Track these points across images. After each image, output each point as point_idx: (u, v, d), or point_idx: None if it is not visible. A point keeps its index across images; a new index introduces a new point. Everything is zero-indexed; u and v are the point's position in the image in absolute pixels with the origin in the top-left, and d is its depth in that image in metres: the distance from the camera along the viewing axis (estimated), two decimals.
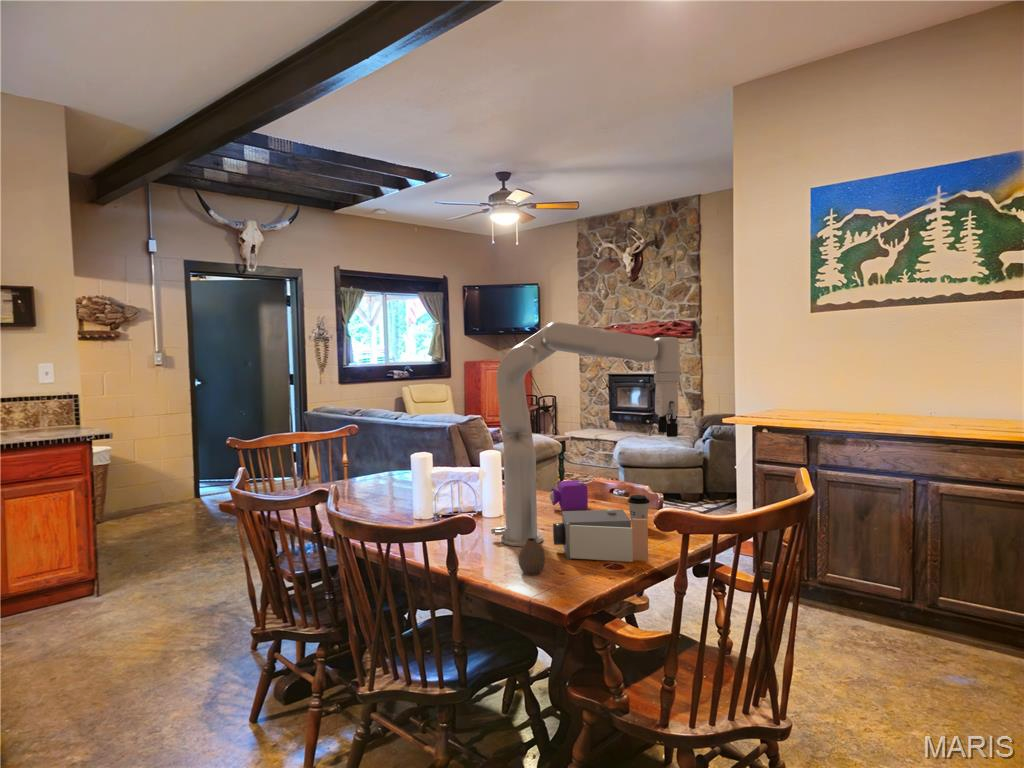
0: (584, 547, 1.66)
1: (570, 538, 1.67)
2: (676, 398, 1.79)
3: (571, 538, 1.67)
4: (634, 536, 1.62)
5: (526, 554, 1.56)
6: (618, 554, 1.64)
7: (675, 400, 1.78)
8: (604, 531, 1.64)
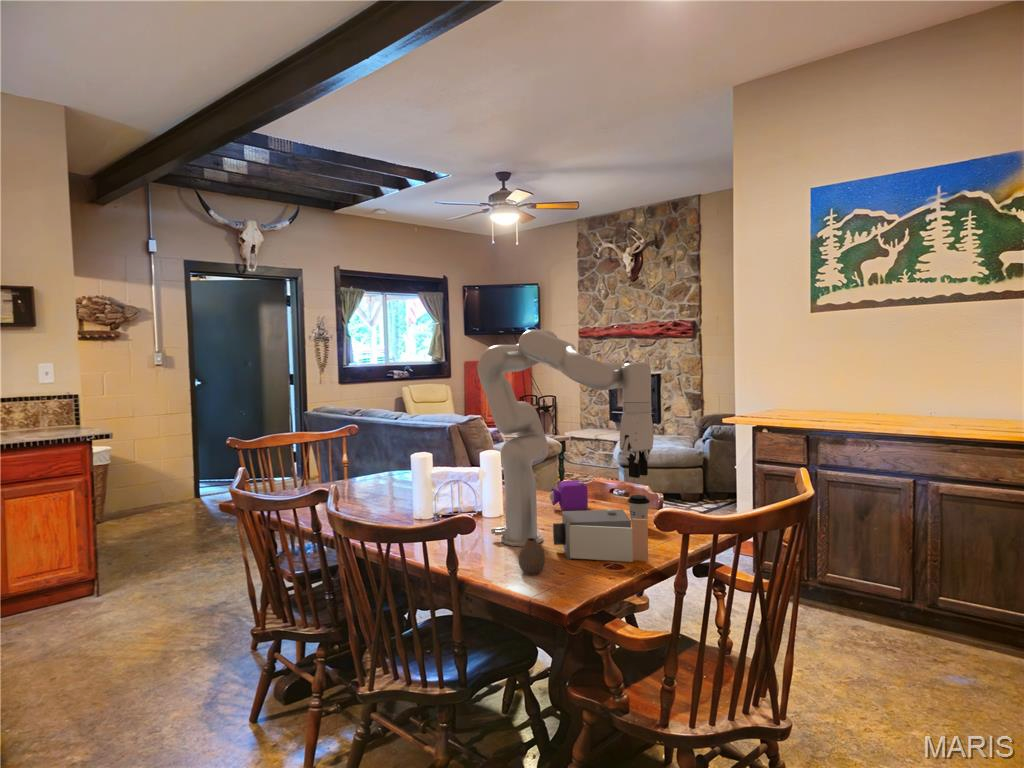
0: (584, 547, 1.66)
1: (570, 538, 1.67)
2: (632, 432, 1.59)
3: (571, 538, 1.67)
4: (634, 536, 1.62)
5: (525, 554, 1.56)
6: (618, 554, 1.64)
7: (631, 434, 1.59)
8: (604, 531, 1.64)
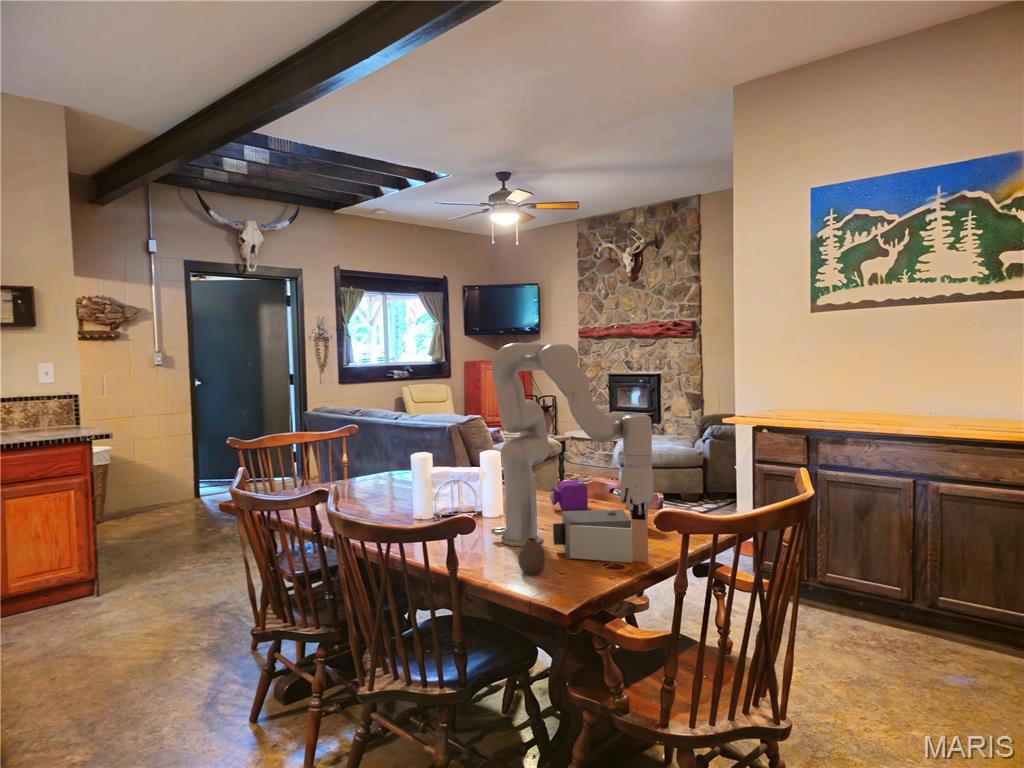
0: (584, 547, 1.66)
1: (570, 538, 1.67)
2: (632, 485, 1.59)
3: (571, 538, 1.67)
4: (634, 537, 1.62)
5: (525, 554, 1.56)
6: (618, 555, 1.63)
7: (631, 488, 1.59)
8: (604, 531, 1.64)
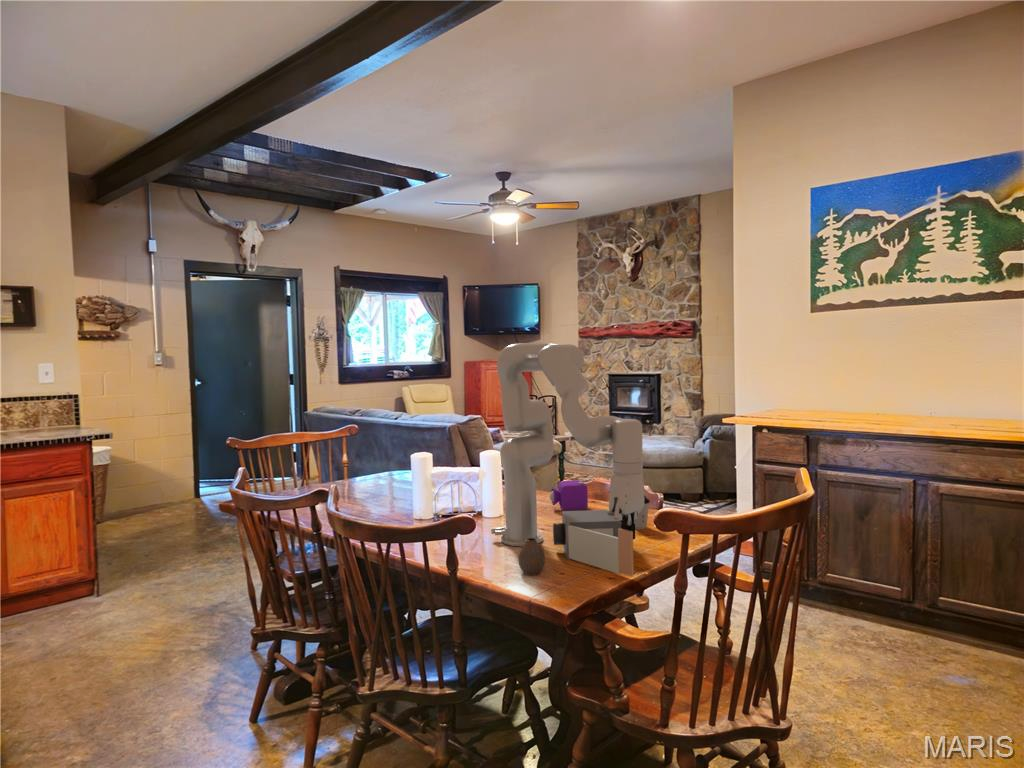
0: (579, 550, 1.64)
1: (569, 538, 1.66)
2: (622, 494, 1.50)
3: (569, 538, 1.66)
4: (619, 547, 1.54)
5: (525, 554, 1.56)
6: (606, 563, 1.57)
7: (621, 497, 1.50)
8: (595, 537, 1.59)
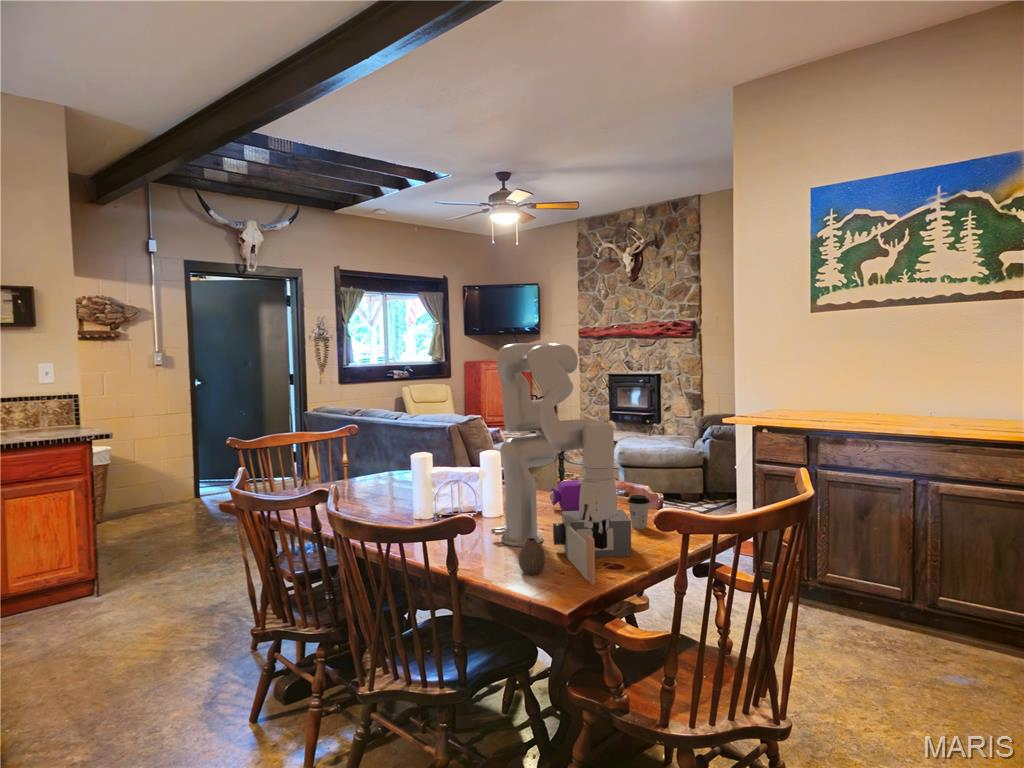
0: (571, 551, 1.63)
1: (567, 538, 1.66)
2: (592, 501, 1.44)
3: (567, 539, 1.66)
4: (587, 553, 1.49)
5: (525, 554, 1.56)
6: (582, 568, 1.54)
7: (591, 504, 1.44)
8: (577, 540, 1.57)
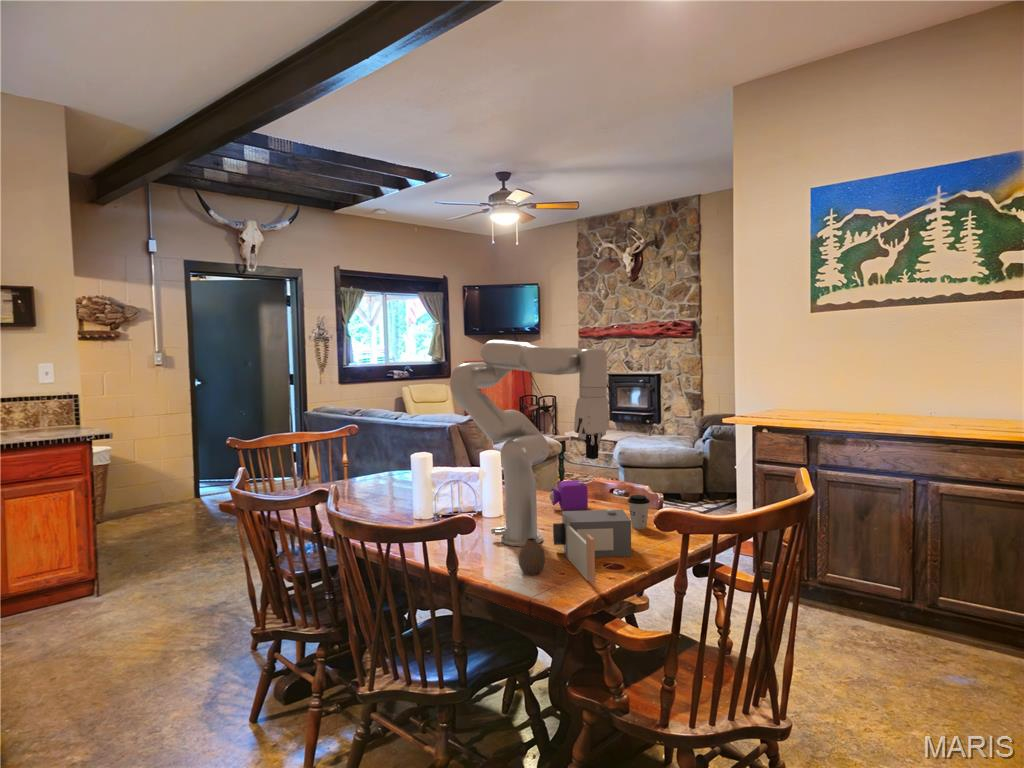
0: (571, 551, 1.63)
1: (567, 538, 1.66)
2: (585, 415, 1.65)
3: (567, 539, 1.66)
4: (587, 553, 1.49)
5: (525, 554, 1.56)
6: (582, 568, 1.54)
7: (584, 418, 1.65)
8: (577, 540, 1.57)
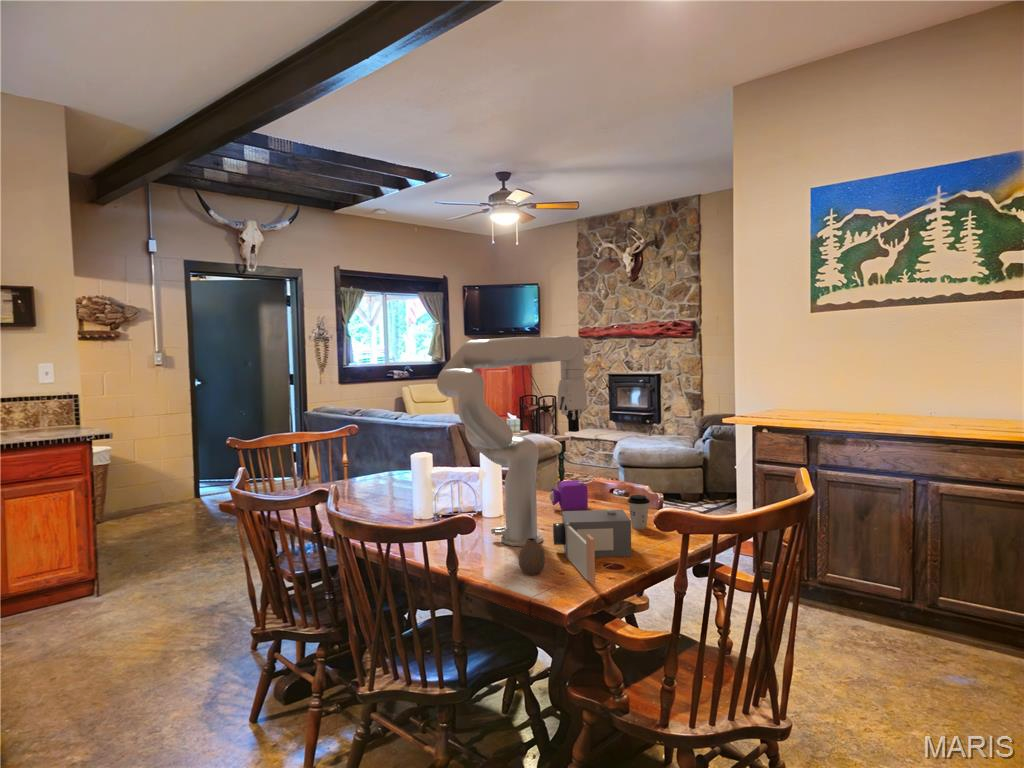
0: (571, 551, 1.63)
1: (567, 538, 1.66)
2: (566, 394, 1.93)
3: (567, 539, 1.66)
4: (587, 553, 1.49)
5: (525, 554, 1.56)
6: (582, 568, 1.54)
7: (566, 396, 1.93)
8: (577, 540, 1.57)
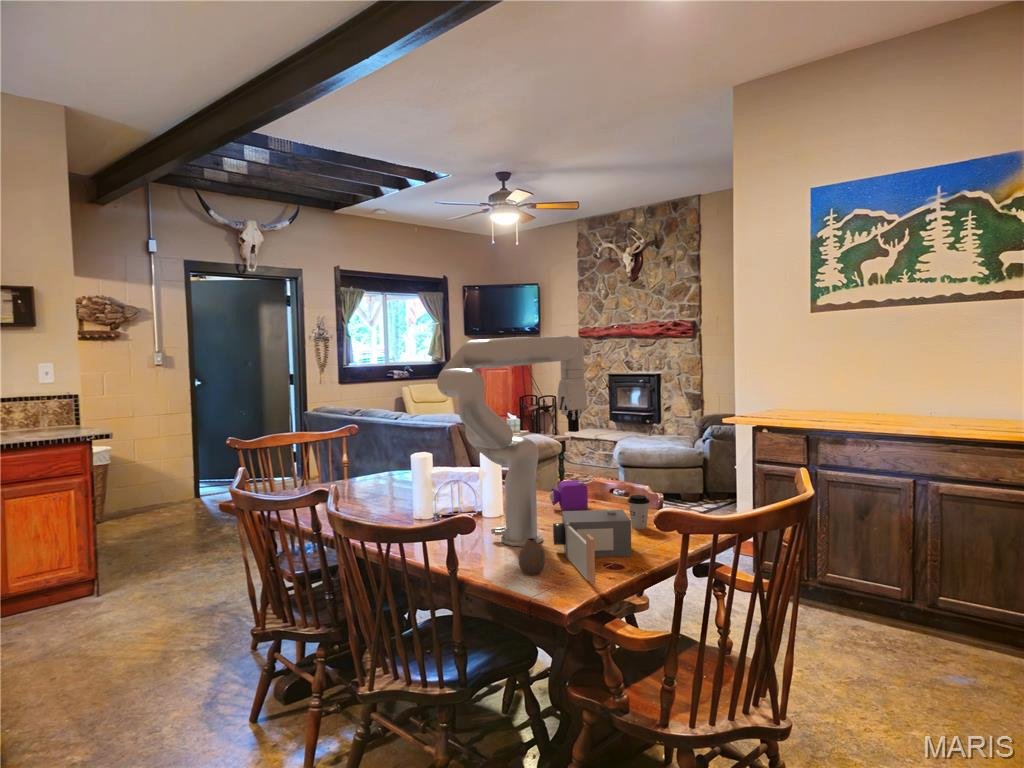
0: (571, 551, 1.63)
1: (567, 538, 1.66)
2: (566, 394, 1.93)
3: (567, 539, 1.66)
4: (587, 553, 1.49)
5: (525, 554, 1.56)
6: (582, 568, 1.54)
7: (566, 396, 1.93)
8: (577, 540, 1.57)
